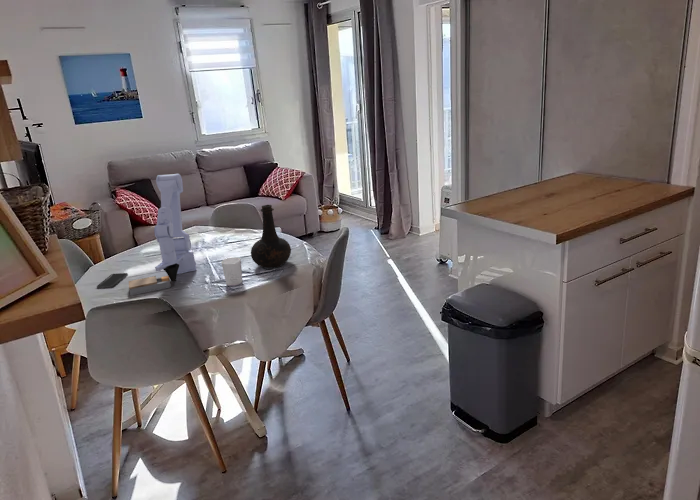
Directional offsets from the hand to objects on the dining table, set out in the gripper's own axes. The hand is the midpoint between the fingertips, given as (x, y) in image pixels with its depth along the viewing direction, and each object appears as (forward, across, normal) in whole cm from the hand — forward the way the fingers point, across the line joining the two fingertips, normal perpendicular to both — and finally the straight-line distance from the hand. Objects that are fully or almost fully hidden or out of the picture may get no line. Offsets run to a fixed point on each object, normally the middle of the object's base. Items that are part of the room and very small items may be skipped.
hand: (173, 281), depth 218 cm
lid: (-2, +9, -8) cm, 12 cm away
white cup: (+1, -9, +26) cm, 27 cm away
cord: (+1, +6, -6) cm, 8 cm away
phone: (+2, +8, -30) cm, 31 cm away
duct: (+1, +7, -6) cm, 10 cm away
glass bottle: (+1, -32, +29) cm, 43 cm away
